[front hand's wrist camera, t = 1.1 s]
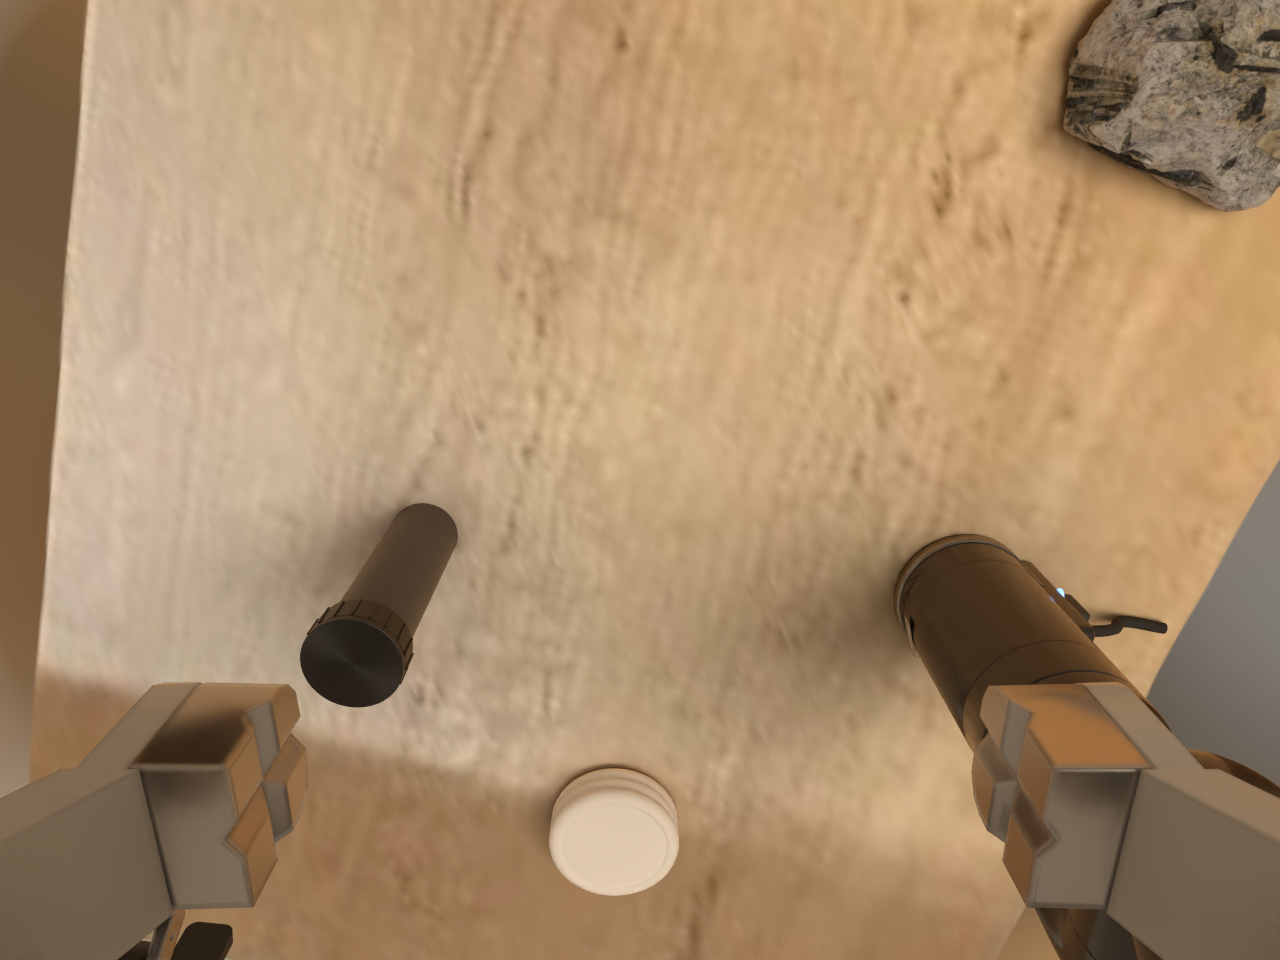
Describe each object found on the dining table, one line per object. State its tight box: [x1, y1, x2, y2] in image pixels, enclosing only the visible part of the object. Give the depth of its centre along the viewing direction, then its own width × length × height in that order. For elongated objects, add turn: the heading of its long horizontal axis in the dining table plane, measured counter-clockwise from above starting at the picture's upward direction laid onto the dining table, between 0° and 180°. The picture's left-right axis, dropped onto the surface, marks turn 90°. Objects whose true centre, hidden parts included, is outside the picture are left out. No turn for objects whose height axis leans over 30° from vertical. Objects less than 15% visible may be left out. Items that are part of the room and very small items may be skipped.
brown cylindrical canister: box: [340, 504, 458, 638], centre depth 54 cm, size 4×4×16 cm
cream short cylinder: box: [549, 768, 679, 896], centre depth 69 cm, size 10×10×4 cm
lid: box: [300, 599, 414, 707], centre depth 47 cm, size 6×6×2 cm
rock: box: [1064, 0, 1280, 212], centre depth 49 cm, size 15×10×7 cm
